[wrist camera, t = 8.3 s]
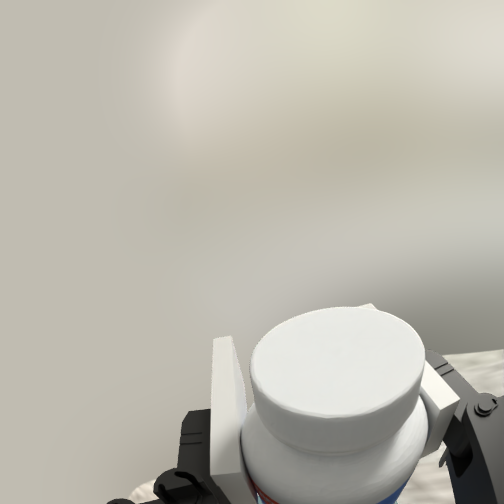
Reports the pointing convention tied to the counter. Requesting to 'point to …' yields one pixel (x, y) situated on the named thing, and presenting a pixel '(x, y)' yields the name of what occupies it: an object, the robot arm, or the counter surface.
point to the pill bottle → (335, 409)
